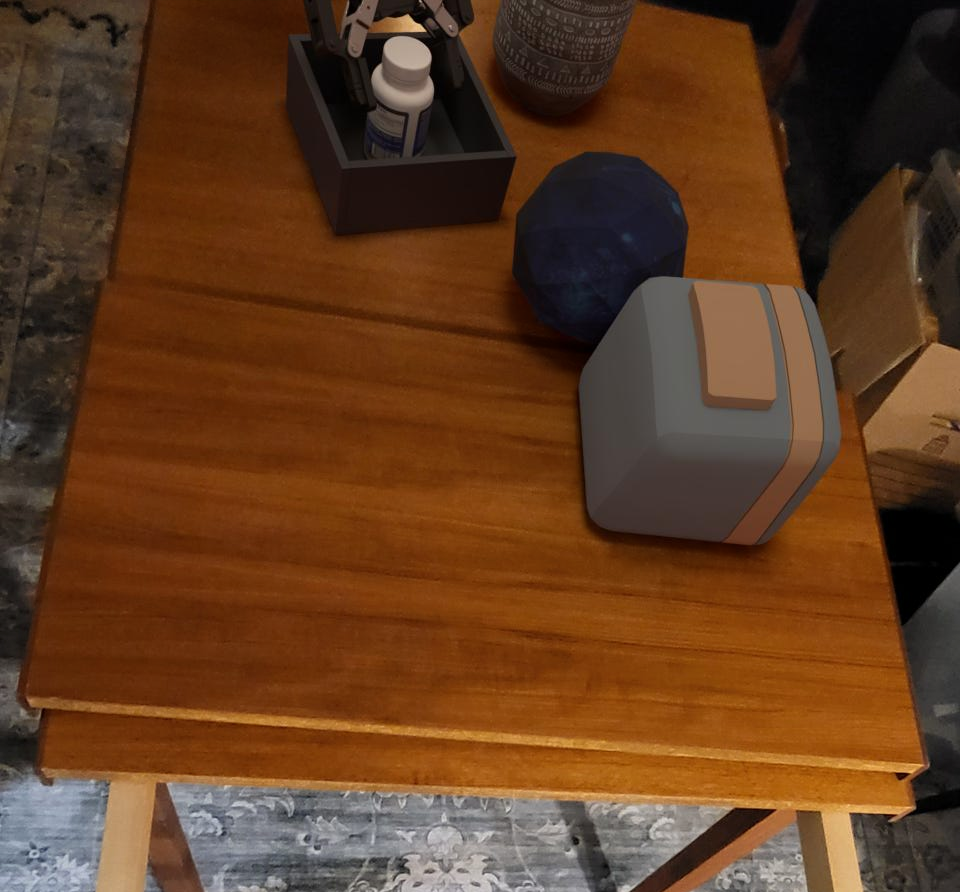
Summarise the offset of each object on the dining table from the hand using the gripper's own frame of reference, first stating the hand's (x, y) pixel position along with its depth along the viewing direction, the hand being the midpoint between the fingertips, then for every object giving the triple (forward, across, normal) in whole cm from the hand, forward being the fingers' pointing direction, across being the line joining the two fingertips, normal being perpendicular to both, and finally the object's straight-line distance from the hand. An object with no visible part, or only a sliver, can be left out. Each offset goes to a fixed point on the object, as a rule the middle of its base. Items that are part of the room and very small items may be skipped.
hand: (411, 102), depth 80 cm
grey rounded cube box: (+31, +5, -21) cm, 38 cm away
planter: (+1, +21, +9) cm, 23 cm away
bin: (+4, 0, +6) cm, 7 cm away
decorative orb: (+19, +6, -9) cm, 22 cm away
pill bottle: (+4, 0, +6) cm, 7 cm away
